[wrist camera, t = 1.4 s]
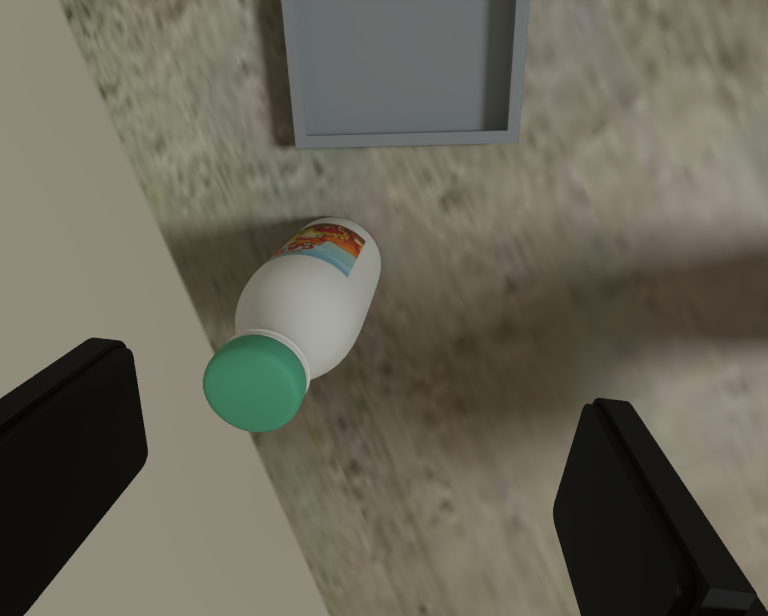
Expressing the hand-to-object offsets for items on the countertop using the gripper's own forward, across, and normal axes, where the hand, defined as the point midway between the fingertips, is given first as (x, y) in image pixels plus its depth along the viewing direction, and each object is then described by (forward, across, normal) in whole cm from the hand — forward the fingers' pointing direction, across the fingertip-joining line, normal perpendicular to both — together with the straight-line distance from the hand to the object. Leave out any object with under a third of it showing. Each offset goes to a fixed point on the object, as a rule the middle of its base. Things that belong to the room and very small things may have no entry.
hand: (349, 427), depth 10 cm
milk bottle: (+30, +6, +6) cm, 31 cm away
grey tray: (+29, +2, -11) cm, 31 cm away
